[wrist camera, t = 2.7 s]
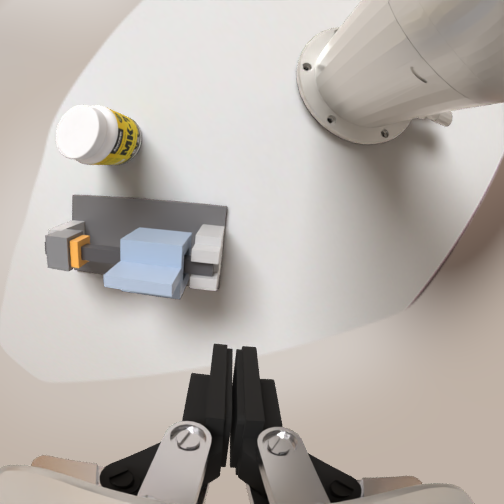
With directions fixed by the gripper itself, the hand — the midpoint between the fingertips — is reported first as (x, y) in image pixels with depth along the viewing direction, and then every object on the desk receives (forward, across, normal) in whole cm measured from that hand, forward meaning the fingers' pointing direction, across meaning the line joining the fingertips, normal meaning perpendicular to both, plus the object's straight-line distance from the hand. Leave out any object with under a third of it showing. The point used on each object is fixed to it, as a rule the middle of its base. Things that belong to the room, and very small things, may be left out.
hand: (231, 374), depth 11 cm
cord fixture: (+17, +9, -1) cm, 20 cm away
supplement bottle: (+17, +12, -10) cm, 24 cm away
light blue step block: (+14, +6, -1) cm, 15 cm away
